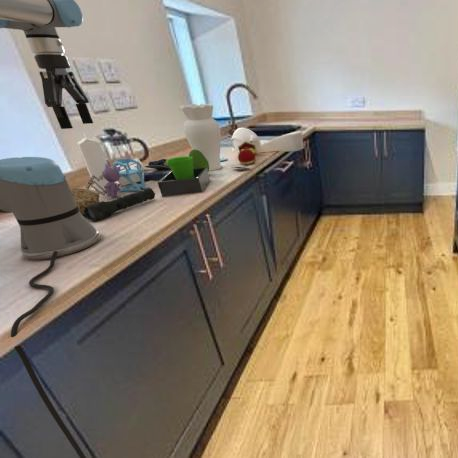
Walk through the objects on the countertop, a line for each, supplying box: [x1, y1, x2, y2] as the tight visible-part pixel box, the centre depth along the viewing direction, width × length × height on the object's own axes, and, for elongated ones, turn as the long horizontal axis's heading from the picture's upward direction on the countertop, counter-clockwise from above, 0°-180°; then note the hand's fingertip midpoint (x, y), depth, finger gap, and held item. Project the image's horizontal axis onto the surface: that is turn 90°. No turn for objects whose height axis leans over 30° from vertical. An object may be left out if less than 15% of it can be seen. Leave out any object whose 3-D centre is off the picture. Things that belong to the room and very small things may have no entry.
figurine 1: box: [103, 163, 121, 198], centre depth 131 cm, size 5×7×12 cm
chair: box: [112, 158, 147, 192], centre depth 138 cm, size 8×8×12 cm
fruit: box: [188, 149, 209, 172], centre depth 153 cm, size 8×8×12 cm
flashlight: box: [83, 187, 156, 222], centre depth 117 cm, size 5×21×5 cm, turn 162°
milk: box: [76, 133, 116, 193], centre depth 137 cm, size 6×6×22 cm
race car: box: [144, 158, 171, 169], centre depth 159 cm, size 15×7×4 cm, turn 173°
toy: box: [220, 157, 228, 162], centre depth 184 cm, size 14×1×10 cm
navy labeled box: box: [144, 168, 172, 181], centre depth 156 cm, size 18×3×10 cm
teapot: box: [230, 127, 261, 154], centre depth 188 cm, size 25×16×12 cm
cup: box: [166, 155, 194, 180], centre depth 137 cm, size 9×9×11 cm
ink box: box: [117, 157, 145, 187], centre depth 149 cm, size 8×5×12 cm
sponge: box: [70, 187, 101, 215], centre depth 117 cm, size 13×8×20 cm
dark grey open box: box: [157, 167, 211, 198], centre depth 139 cm, size 18×14×6 cm
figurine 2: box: [237, 141, 258, 166], centre depth 176 cm, size 9×10×15 cm
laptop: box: [230, 165, 251, 170], centre depth 163 cm, size 7×6×2 cm
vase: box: [178, 102, 222, 172], centre depth 162 cm, size 15×15×29 cm
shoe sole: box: [257, 130, 305, 154], centre depth 202 cm, size 36×13×10 cm, turn 87°
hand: (78, 126), depth 116 cm, fingers open, 13 cm apart
